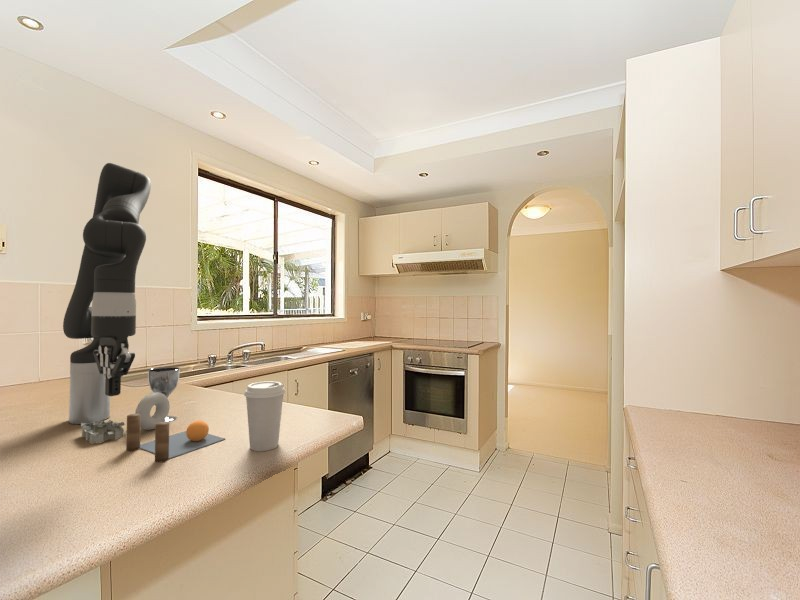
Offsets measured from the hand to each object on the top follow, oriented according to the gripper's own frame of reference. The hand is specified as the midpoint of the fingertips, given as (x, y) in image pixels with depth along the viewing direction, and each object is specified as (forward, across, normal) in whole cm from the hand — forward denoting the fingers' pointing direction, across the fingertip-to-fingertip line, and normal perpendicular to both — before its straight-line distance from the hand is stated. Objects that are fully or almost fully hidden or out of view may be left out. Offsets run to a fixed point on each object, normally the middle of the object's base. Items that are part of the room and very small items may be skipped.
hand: (112, 395), depth 79 cm
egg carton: (+16, +22, -7) cm, 28 cm away
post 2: (+15, -6, -7) cm, 18 cm away
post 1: (+15, +6, -7) cm, 18 cm away
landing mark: (+15, 0, -15) cm, 21 cm away
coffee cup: (+15, -19, -24) cm, 34 cm away
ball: (+12, -2, -18) cm, 22 cm away
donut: (+15, +17, -17) cm, 28 cm away
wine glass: (+15, +23, -23) cm, 36 cm away
